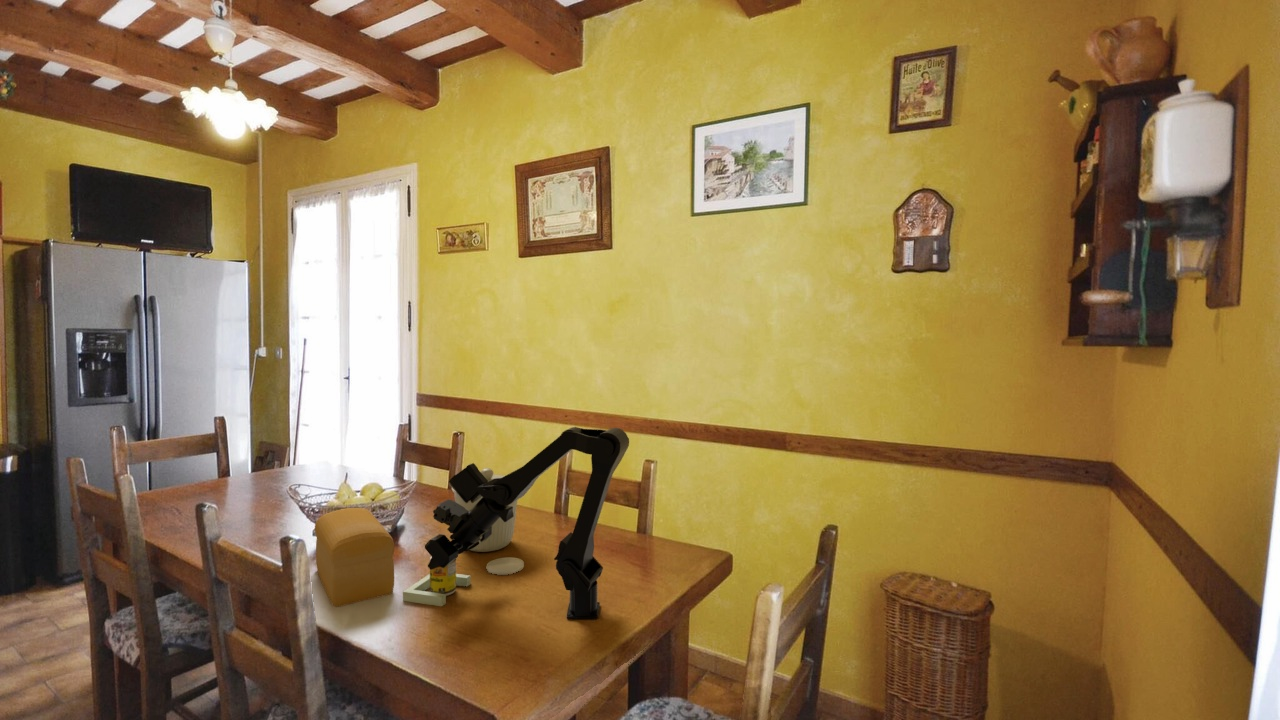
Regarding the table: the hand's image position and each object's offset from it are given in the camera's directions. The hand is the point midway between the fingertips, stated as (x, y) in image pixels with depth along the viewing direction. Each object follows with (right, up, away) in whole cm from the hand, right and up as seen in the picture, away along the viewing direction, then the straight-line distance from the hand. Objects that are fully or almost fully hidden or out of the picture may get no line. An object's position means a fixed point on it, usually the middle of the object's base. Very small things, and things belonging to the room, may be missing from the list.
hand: (437, 562), depth 134 cm
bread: (-22, -7, +6) cm, 23 cm away
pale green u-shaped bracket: (0, -7, 0) cm, 7 cm away
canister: (+4, -5, +29) cm, 30 cm away
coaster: (+12, -6, +14) cm, 20 cm away
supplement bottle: (+1, -7, 0) cm, 7 cm away
